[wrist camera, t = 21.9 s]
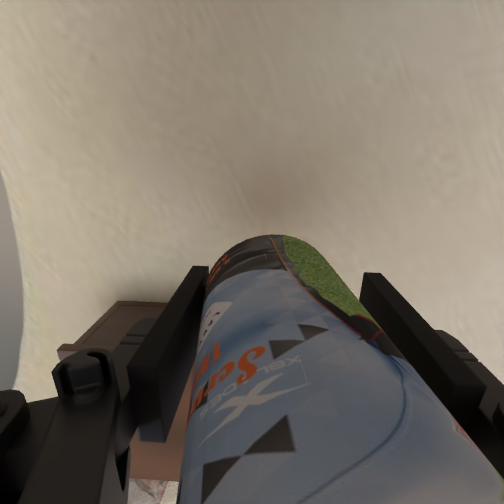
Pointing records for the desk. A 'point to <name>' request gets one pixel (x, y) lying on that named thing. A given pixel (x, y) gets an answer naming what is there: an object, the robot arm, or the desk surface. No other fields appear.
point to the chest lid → (151, 453)
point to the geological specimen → (145, 491)
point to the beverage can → (313, 396)
